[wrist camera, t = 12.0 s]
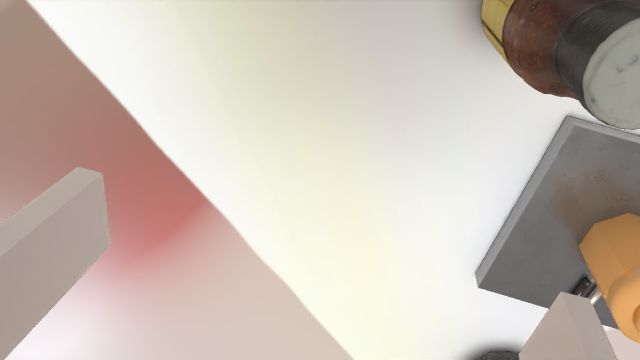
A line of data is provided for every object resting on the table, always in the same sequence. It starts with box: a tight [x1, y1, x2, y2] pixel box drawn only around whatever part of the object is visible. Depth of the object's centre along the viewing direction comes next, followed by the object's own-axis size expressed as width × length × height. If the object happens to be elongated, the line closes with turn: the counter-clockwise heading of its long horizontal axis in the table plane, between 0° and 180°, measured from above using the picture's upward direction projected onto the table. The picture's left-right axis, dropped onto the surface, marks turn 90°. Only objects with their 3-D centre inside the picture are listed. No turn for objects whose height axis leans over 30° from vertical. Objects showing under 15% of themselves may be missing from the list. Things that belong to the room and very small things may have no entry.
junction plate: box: [475, 116, 640, 330], centre depth 37 cm, size 19×18×7 cm
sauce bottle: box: [481, 0, 640, 130], centre depth 23 cm, size 6×6×20 cm
